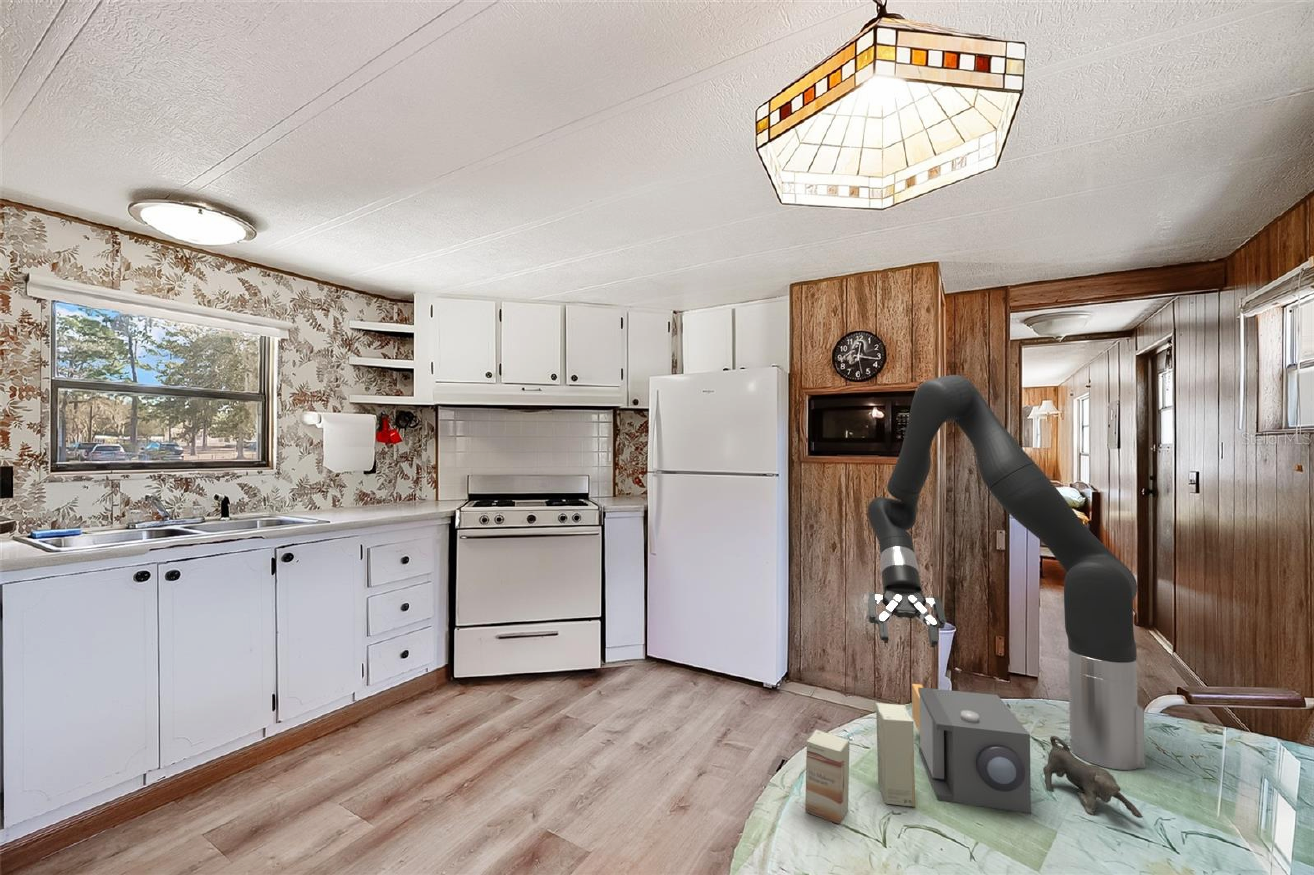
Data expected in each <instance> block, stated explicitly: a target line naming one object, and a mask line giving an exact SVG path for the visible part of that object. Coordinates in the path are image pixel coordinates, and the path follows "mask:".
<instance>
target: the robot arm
mask: <svg viewBox="0 0 1314 875" xmlns="http://www.w3.org/2000/svg"><path fill="white" fill-rule="evenodd" d="M909 410H910V411H909V415H908V420H907V423H906V424H907V425H906V429H905V432H904V433H905V434H904V438H903V442H902V446H901V449H900V453H899V455H898V458H897V460H896V463H895V465H894V466H893V467H894V468H893V470H892V472H891V474H890V477H889V479H888V482H887V484H886V488H887V491H888V493H889V494H890V495H891V496H892V497H893V498H888V497H884V496H879V497H878V496H877V497H875V498H873V499H872V500H871V501H870V503H869V505H868V507H867V517H868V522H869V524H870V526H871V528H872V530H873V532H874V535H875V536H876V538H877V540H878V543H879V544H878V545H879V552H880V553H879V554H880V574H881V581H882V588H883V589H882V591H883V593H882V594H876V593H875V591H870V592H869V593H868V598H867V601H868V605H867V606H868V611H867V612H868V613H867V614H868V622H869V623H870V624H875V625H877V626H878V631H879V639H880V641H883V644H889V629H888V622H889V621H890V620H891V619H893V617H894V616H896V618H899V619H900V618H901V619H902V618H907V619H915V618H916V619H917V620H918V621H919V623H920V624H923V625H924V626H925V627H926V628H927V634H928V640H929V646H930V648H934V649H935V648H936V646H938V643H939V633H938V629H940V630H941V629H944V628H945V625H946V622H947V618H946V615H945V611H944V606H943V603H942V598H941V597H940V596H939V595H935V596H933V598H932V597H925V596H924V594H923V588H922V582H921V577H920V571H919V563H918V561H917V558H916V553H915V547H914V542H913V537H912V535H911V534H910V533H909V532H908V531H909V530H911V529H912V528H914V525H915V524H916V521H917V515H918V514H917V513H918V511H917V510H918V502H919V499H920V498H919V497H920V494H921V491H922V489H923V488H924V485H925V483H926V481H927V478H928V476H929V474H930V471H931V466H932V465H931V464H932V462H931V447H932V443H933V440H934V438H935V436H936V435H937V433H938V431H939V430H940V428H941V427H942V426H943V425H944V424H945V423H948V422H951V421H953V422H954V423H955V424H956V425H957V427H959V428H960V430H961V431H962V432H963V434H965V435H966V437H967V439H968V441H970V443H971V445H972V447H973V450H974V453H975V457H976V463H977V467H978V471H979V474H980V477H981V479H982V481H983V483H984V485H985V486H986V487H987V489H988V490H989V491H990V493H991V494H992V496H994V497H995V500H997V501H998V503H999V504H1000V506H1002V508H1003V509H1004V510H1005V511H1006V512H1007V513H1008V514H1009V515H1010V516H1011V517H1012V518H1013V519H1014V520H1016V522H1018V523H1019V524H1020V525H1022V526H1023V527H1024V528H1025V529H1027V531H1028V532H1030V533H1031V534H1032V535H1034V536H1035V537H1036V538H1037V539H1039V541H1040V542H1041V543H1043V544H1044V546H1046V547H1047V549H1048V550H1049V551H1050V552H1051V554H1053V556H1054V557H1055V559H1056V560H1057V561H1058V563H1059V565H1060V566H1061V568H1062V569H1063V570H1064V572H1065V573H1066V575H1065V577H1064V580H1063V582H1064V583H1063V606H1064V607H1063V609H1064V610H1063V611H1064V629H1065V633H1066V636H1067V643H1068V644H1067V645H1068V650H1067V651H1068V656H1067V657H1068V706H1069V707H1068V710H1069V711H1068V713H1069V716H1068V717H1069V718H1068V719H1069V721H1068V722H1069V734H1068V735H1069V736H1068V737H1069V748H1070V751H1072V752H1071V753H1072V754H1073V753H1074V755H1076V756H1077V757H1079V758H1081V759H1082V760H1085V761H1086V762H1089V763H1092V764H1093V765H1097V766H1100V767H1103V768H1109V769H1113V770H1121V771H1129V770H1131V771H1132V770H1135V769H1146V748H1145V747H1146V746H1145V711H1144V708H1143V707H1141V705H1139V704H1138V673H1137V672H1138V671H1137V670H1138V669H1137V668H1138V667H1137V666H1138V665H1137V661H1138V660H1137V658H1138V657H1137V656H1138V655H1137V653H1138V652H1137V643H1136V640H1135V634H1134V631H1135V630H1134V600H1135V598H1136V596H1137V594H1138V583H1137V580H1136V577H1135V575H1134V573H1133V572H1132V571H1131V570H1130V568H1129V567H1128V566H1127V565H1126V564H1124V562H1123V561H1121V559H1119V558H1118V557H1117V556H1116V555H1115V554H1114V553H1113V552H1112V551H1111V550H1109V548H1108V547H1107V546H1106V545H1105V544H1104V543H1102V541H1100V540H1099V539H1098V537H1096V536H1095V535H1094V534H1093V533H1092V532H1091V530H1090V529H1088V528H1087V526H1086V525H1085V523H1083V522H1082V520H1081V519H1080V518H1079V516H1078V515H1077V513H1076V512H1075V510H1074V509H1073V508H1072V506H1071V505H1070V504H1069V503H1068V501H1067V500H1066V499H1065V497H1064V495H1062V494H1061V492H1060V491H1059V490H1058V488H1057V487H1056V486H1055V485H1054V483H1053V482H1052V480H1050V478H1049V477H1048V476H1047V475H1046V473H1045V472H1044V471H1043V470H1042V469H1041V468H1040V467H1039V465H1038V464H1037V463H1036V462H1035V460H1033V459H1032V458H1031V457H1030V455H1028V453H1026V451H1025V450H1024V449H1023V448H1022V447H1021V445H1020V444H1019V443H1018V441H1017V440H1016V439H1015V438H1014V437H1013V436H1012V435H1011V433H1010V432H1009V431H1008V430H1007V429H1006V427H1005V426H1004V425H1003V424H1002V423H1001V422H1000V420H999V419H998V418H997V416H996V415H995V413H994V412H993V410H992V409H991V408H990V406H989V404H988V403H987V402H986V399H984V397H983V395H982V394H981V392H980V391H979V389H978V388H977V387H976V386H975V385H974V383H972V382H971V380H969V379H968V378H966V377H964V376H962V375H959V374H950V375H945V376H939V377H935V378H931V379H929V380H926V381H923V382H922V383H921V384H920V385H919V386H918V387H917V389H916V391H915V392H914V395H913V398H912V401H911V406H910V409H909ZM894 498H895V499H894ZM880 603H883V605H884V606H885V608H884V611H883V612H882V613H880V614H876V613H877V610H876V608H877V607H876V606H879V605H880ZM926 605H927V606H929V608H930V610H931V611H933V612H934V613H933V614H934V617H935V618H934V617H933V616H932V615H931V614H930V612H929V610H928V609H926V607H925V606H926Z"/></svg>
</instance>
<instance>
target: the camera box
mask: <svg viewBox="0 0 1314 875" xmlns="http://www.w3.org/2000/svg"><path fill="white" fill-rule="evenodd" d="M918 692H919V694H920V696H921V698H922V700H923V702H924V705H925V707H926V709H927V711H928V713H929V715H930V717H931V719H932V721H933V723H934V725H935V727H936V729H937V730H944V779H938V778H933V777H932V775H931V772H930V770H929V767H928V765H927V762H926V760H925V757H924V755H923V752H922V750H921V747H918V754H919V756H920V760H921V761H922V764H923V767H924V769H925V773H926V774H927V777H928V779H929V783H930V785H931V787H932V790H933V792H934V796H935V797H936V800H937V801H942V802H943V801H944V802H950V803H955V804H956V803H957V804H963V805H970V806H977V807H985V808H991V809H997V810H998V809H999V810H1005V811H1012V812H1013V811H1014V812H1020V813H1025V814H1032V794H1031V793H1032V792H1031V790H1032V788H1031V785H1032V784H1031V783H1032V782H1031V779H1032V778H1031V734H1030V732H1028V730H1027V729H1026V728H1025V727H1024V725H1023V723H1021V722H1020V721H1019V719H1018V718H1017V717H1016V716H1015V715H1014V713H1013V711H1011V709H1010V708H1009V707H1008V705H1007V704H1006V703H1005V702H1004V701H1003V699H1002V698H1001V697H1000V696H999V695H998V694H990V693H980V692H969V691H960V690H959V691H958V690H950V689H949V690H948V689H938V688H931V687H930V688H929V687H928V688H927V687H923V688H920V687H918Z"/></svg>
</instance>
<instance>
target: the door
mask: <svg viewBox="0 0 1314 875" xmlns="http://www.w3.org/2000/svg"><path fill="white" fill-rule="evenodd" d="M923 686H924V685H923V684H921V683H920V684H919V683H912V684H911V690H912V691H911V695H912V696H911V699H912V700H911V701H912V702H911V704H912V705H911V707H912V708H911V709H912V710H911V711H912V714H911V715H912V716H911V717H912V719H913V723H914V724H915V727H916V729H917V731H918V734H919V748H921V750H922V752H923V755H924V757H925V760H926V762H927V765H928V767H929V770H930V772H931V775H932V777H933V778H938V779H944V730H937V729H936V727H935V725H934V723H933V721H932V719H931V717H930V715H929V713H928V711H927V709H926V707H925V705H924V702H923V700H922V698H921V696H920V694H919V692H918V687H920V688H924V687H923Z"/></svg>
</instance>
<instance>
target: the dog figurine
mask: <svg viewBox="0 0 1314 875" xmlns="http://www.w3.org/2000/svg"><path fill="white" fill-rule="evenodd" d="M1049 740H1050V744H1051V749H1050V751H1049V753H1048V758H1047V764H1046V765H1045V766H1044V767H1043V770H1042V771H1043V774H1044V780H1045V789H1046V790H1047V791H1049V792H1054V785H1053V784H1052V781H1053V778H1052V777H1053V774H1056V776H1057V777H1058V778H1063V777H1064V776H1065V778H1066V779H1067V781H1069V782H1070V783H1071V784H1072V785H1074V786H1075V787H1076V788H1077V789H1078V790H1080V792H1079V791H1077V795H1078V798H1079V800H1080V802H1081V803H1082V805H1083V807H1084V810H1085V812H1086V813H1087V814H1089V815H1091V816H1092V815H1093V816H1094V815H1096V813H1095V811H1096V809H1097V807H1098V802H1097V799H1100V801H1101V802H1103V803H1105V804H1109V802H1111V799H1112V797H1113V798H1115V799H1116V800H1118V801H1120V802H1121V803H1122V804H1123V805H1124V806H1125V808H1126V809H1127V811H1129V812H1130V813H1131V814H1132V815H1133V816H1134V817H1136V818H1138V819H1139V818H1140V819H1141V818H1143V817H1144V816H1143V815H1142V813H1141V812H1140V811H1139V810H1138V809H1137V807H1136V806H1135V804H1133V803H1132V802H1131V801H1130V800H1128V799H1127V798H1126V797H1125V796H1124V795H1123V794H1122V793H1121V792H1120V791H1121V790H1122V788H1121V787H1120V786H1119V784H1118V782H1117V781H1116V778H1115V777H1114V776H1113V775H1112V774H1111V773H1110V771H1108V770H1106V769H1103V767H1101V766H1100V767H1099V765H1097V766H1096V765H1095V764H1088V763H1085V762H1084V761H1083V760H1082V761H1081V760H1080V759H1078V758H1077V757H1076V756H1074V755H1075V754H1073V752H1071V749H1070V746H1068V744H1067V743H1066V742H1065V741H1064V740H1062V739H1061V738H1060V737H1059V736H1056V735H1051V736H1050V737H1049ZM1057 742H1059V743H1060V744H1061V746H1060V745H1059V744H1058V743H1057ZM1081 791H1082V792H1081Z"/></svg>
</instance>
